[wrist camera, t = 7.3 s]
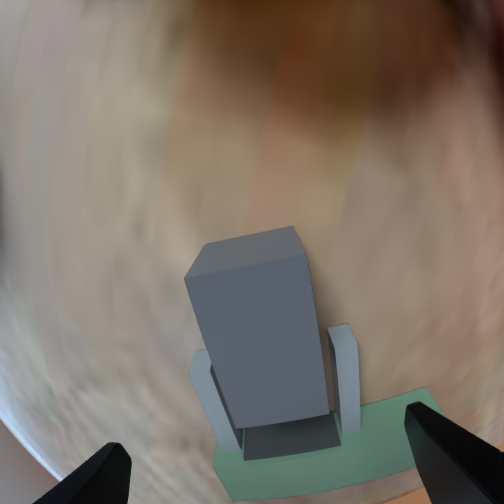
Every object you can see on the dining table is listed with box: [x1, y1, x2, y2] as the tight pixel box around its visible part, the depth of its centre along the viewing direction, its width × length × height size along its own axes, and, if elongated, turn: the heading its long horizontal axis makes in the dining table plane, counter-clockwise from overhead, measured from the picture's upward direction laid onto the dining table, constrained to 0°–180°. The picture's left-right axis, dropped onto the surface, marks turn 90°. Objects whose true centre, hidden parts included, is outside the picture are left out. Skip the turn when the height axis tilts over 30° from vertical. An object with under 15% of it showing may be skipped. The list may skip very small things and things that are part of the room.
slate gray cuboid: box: [184, 226, 329, 429], centre depth 15 cm, size 4×8×5 cm, turn 12°
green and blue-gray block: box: [188, 323, 445, 502], centre depth 17 cm, size 15×12×4 cm
